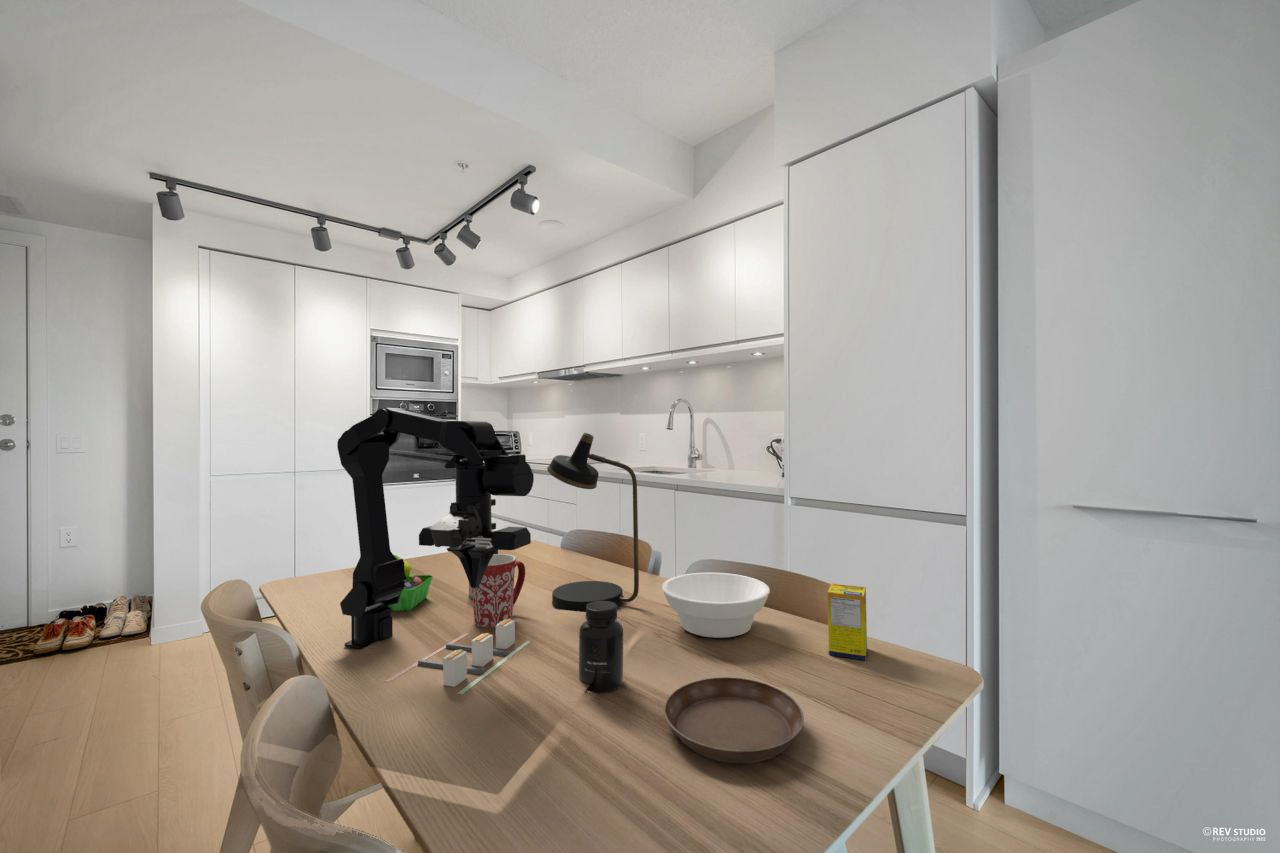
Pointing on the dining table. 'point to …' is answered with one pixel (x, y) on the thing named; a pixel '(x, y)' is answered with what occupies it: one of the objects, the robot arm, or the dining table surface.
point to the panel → (469, 669)
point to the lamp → (586, 477)
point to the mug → (497, 591)
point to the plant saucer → (734, 719)
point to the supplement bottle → (601, 648)
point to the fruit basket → (412, 589)
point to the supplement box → (847, 621)
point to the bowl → (715, 602)
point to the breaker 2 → (505, 634)
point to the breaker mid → (482, 649)
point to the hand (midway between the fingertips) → (475, 587)
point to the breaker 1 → (455, 668)
